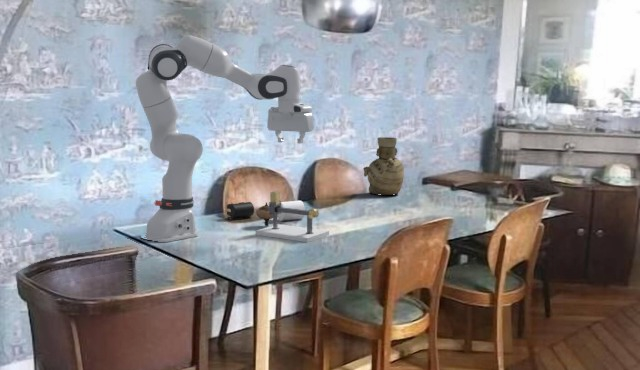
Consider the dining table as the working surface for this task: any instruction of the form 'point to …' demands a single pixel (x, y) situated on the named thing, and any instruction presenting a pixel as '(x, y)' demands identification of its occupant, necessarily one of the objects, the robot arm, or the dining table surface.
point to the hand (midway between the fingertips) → (290, 142)
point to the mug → (293, 206)
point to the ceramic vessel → (385, 169)
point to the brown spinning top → (264, 214)
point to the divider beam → (310, 214)
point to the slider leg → (272, 204)
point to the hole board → (292, 233)
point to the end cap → (240, 210)
